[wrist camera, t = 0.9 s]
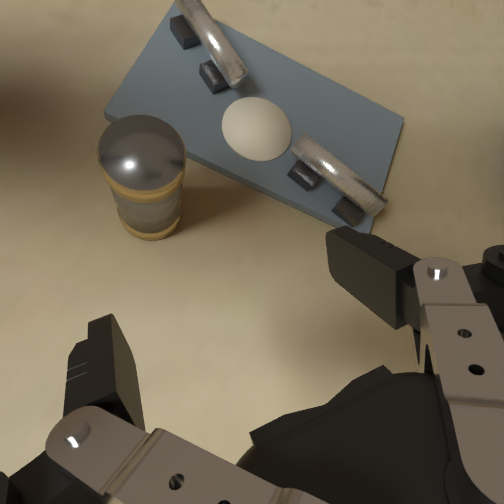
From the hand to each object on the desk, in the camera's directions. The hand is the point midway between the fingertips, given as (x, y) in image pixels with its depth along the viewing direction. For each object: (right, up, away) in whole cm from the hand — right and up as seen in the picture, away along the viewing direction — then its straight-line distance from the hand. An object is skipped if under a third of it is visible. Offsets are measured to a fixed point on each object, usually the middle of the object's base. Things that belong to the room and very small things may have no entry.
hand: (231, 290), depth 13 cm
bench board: (+2, +14, +21) cm, 25 cm away
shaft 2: (+7, +7, +21) cm, 23 cm away
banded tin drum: (-8, +5, +17) cm, 19 cm away
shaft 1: (-3, +19, +21) cm, 29 cm away
